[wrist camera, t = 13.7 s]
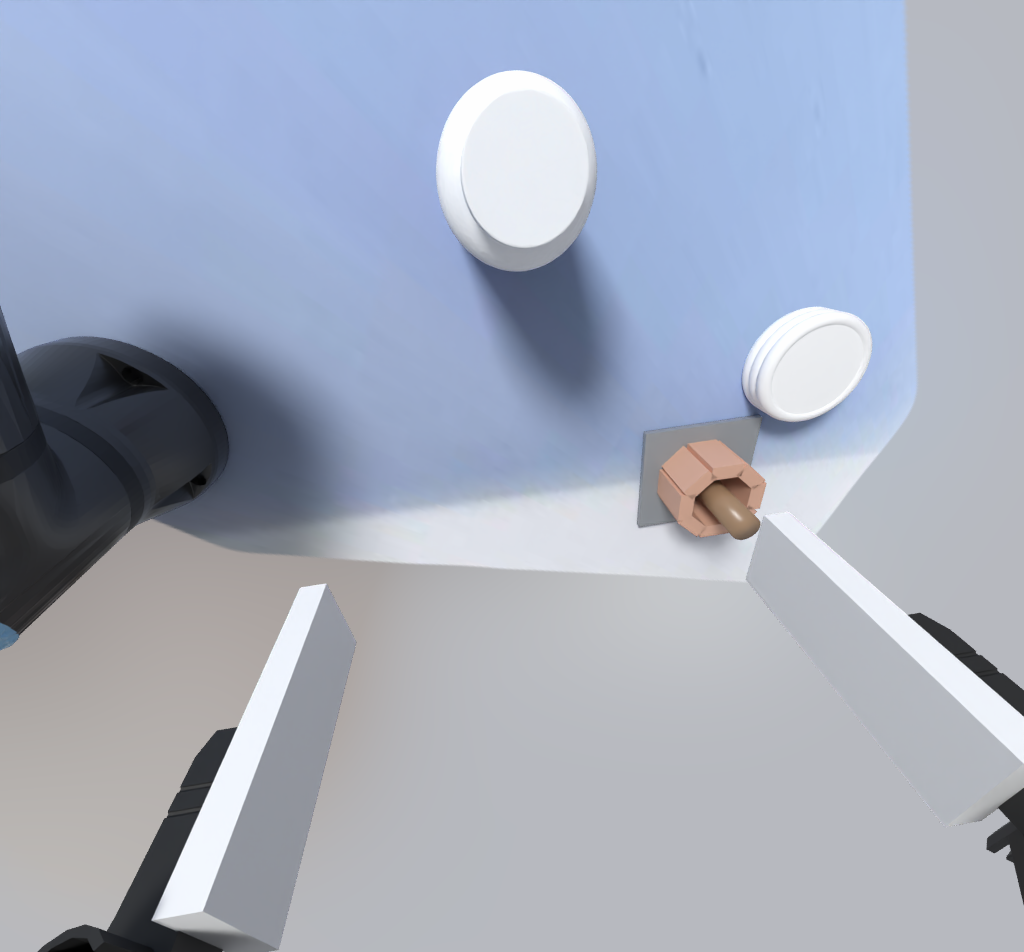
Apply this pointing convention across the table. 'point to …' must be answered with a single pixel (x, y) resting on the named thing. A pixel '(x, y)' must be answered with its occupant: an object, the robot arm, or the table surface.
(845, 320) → the coaster
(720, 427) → the post block
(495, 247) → the pill bottle
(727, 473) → the ring
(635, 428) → the table surface
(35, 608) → the robot arm
